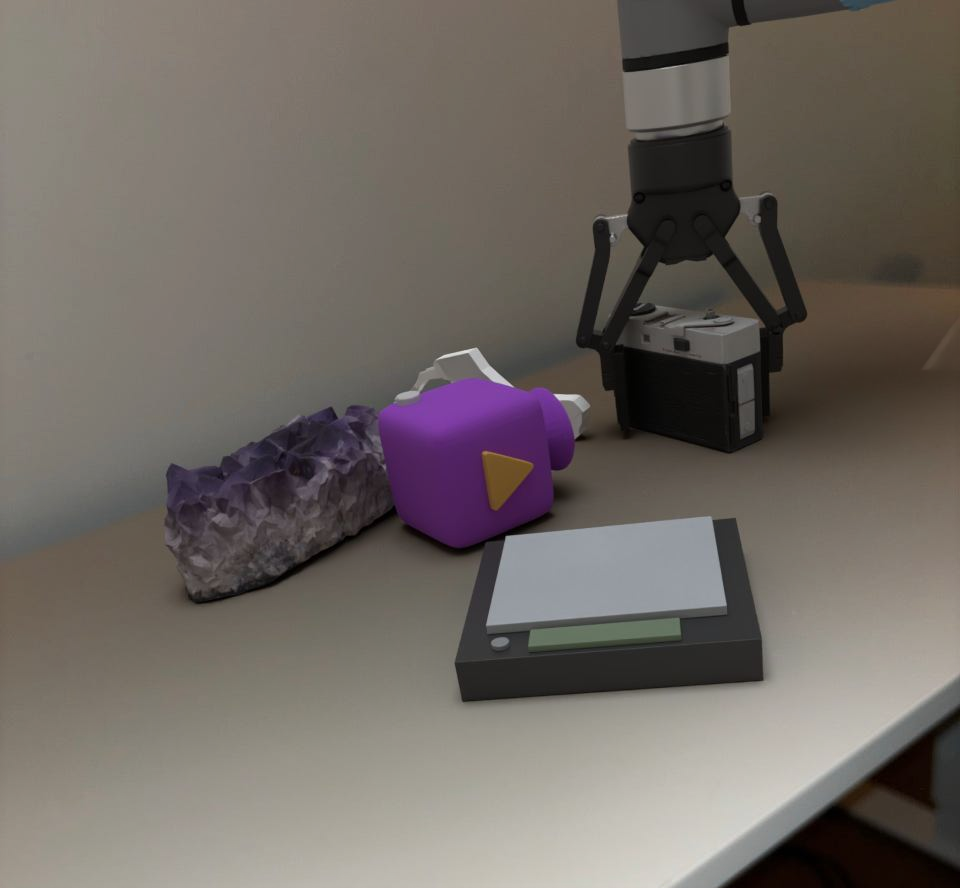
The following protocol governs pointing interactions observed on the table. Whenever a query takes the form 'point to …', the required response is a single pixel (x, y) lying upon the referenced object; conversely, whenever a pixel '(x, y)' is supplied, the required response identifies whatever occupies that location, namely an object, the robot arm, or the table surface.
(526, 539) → the scale
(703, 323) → the camera
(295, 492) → the geode
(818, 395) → the table surface
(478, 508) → the toy camera
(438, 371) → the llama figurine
